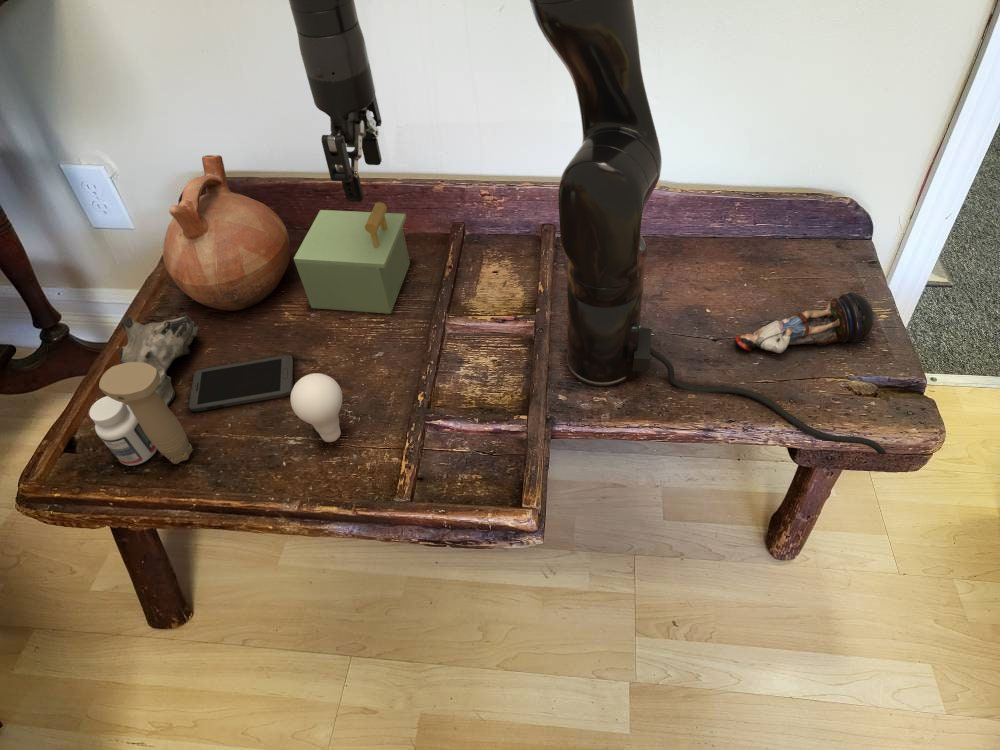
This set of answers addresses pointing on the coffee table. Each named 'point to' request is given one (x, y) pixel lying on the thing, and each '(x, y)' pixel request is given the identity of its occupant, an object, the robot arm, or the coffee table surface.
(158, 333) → the decorative stone
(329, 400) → the lightbulb
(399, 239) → the chest
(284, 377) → the cell phone
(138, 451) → the pill bottle
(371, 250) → the chest lid
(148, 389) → the handle
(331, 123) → the robot arm
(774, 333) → the figurine
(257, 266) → the jug
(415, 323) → the coffee table surface
